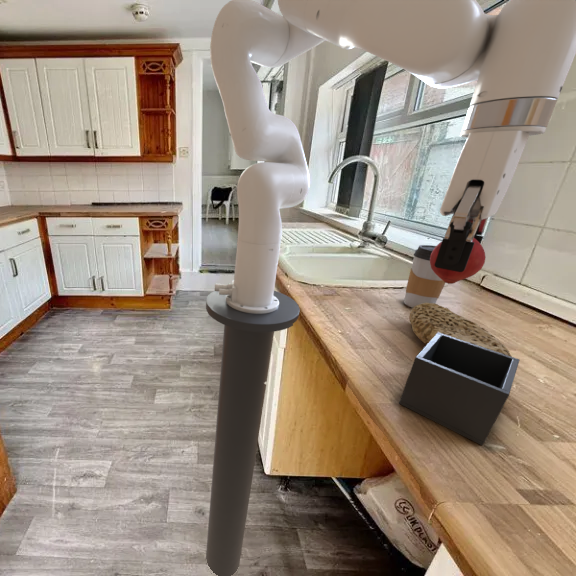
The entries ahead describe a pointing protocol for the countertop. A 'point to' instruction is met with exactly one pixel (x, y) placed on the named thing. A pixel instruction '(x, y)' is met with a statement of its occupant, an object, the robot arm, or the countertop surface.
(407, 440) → the countertop surface
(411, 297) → the coffee cup
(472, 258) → the onion
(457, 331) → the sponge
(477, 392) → the waste bin
